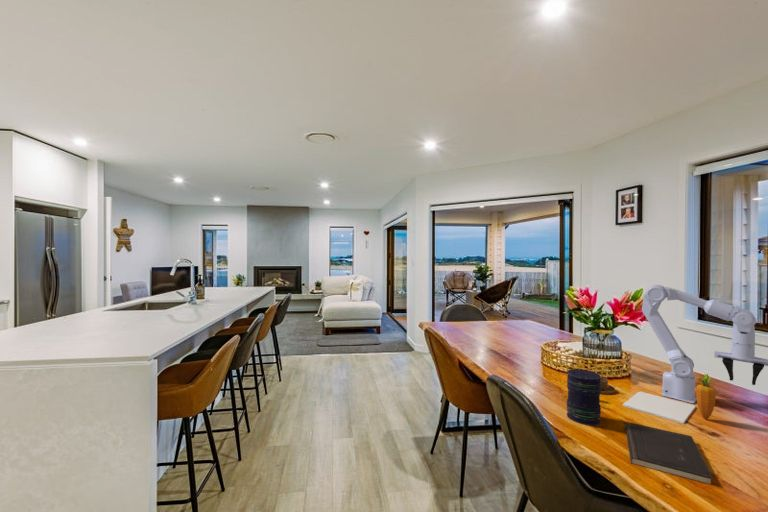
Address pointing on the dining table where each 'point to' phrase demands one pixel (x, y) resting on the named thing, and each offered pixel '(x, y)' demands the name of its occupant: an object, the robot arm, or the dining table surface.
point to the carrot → (705, 397)
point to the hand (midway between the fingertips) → (742, 382)
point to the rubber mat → (660, 407)
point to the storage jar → (583, 396)
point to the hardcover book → (666, 452)
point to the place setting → (606, 386)
